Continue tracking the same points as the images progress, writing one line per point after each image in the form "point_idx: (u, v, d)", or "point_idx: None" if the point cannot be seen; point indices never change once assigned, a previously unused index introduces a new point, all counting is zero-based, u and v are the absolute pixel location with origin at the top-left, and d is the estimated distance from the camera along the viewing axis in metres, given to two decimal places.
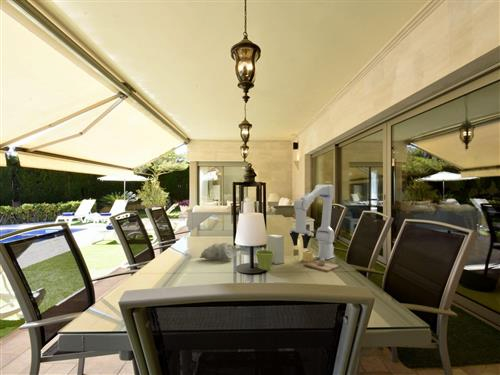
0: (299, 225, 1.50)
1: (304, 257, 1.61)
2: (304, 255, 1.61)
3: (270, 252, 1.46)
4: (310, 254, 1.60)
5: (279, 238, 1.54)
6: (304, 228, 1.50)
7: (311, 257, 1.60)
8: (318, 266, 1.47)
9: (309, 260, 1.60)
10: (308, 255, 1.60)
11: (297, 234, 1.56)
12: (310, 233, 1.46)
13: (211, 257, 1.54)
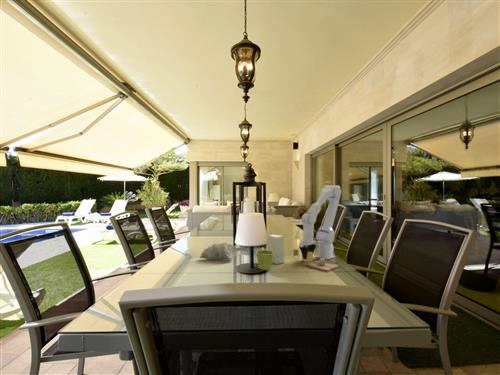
0: (303, 237, 1.63)
1: None
2: None
3: (270, 252, 1.46)
4: (310, 254, 1.60)
5: (279, 238, 1.54)
6: (305, 240, 1.60)
7: (311, 257, 1.60)
8: (318, 266, 1.47)
9: (309, 260, 1.60)
10: (308, 255, 1.60)
11: (312, 247, 1.64)
12: (300, 245, 1.57)
13: (211, 257, 1.54)
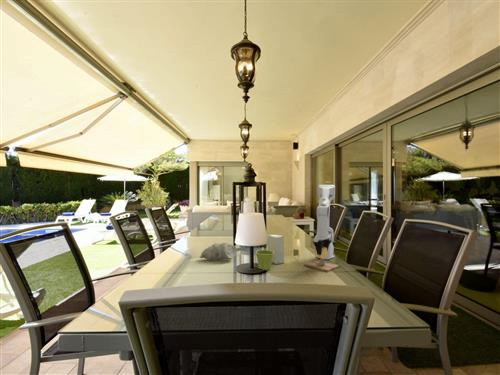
0: (317, 231, 1.51)
1: None
2: None
3: (270, 252, 1.46)
4: (324, 250, 1.48)
5: (279, 238, 1.54)
6: (320, 235, 1.48)
7: (325, 253, 1.49)
8: (318, 266, 1.47)
9: (323, 256, 1.48)
10: (322, 251, 1.48)
11: (327, 242, 1.52)
12: (315, 239, 1.45)
13: (211, 257, 1.54)
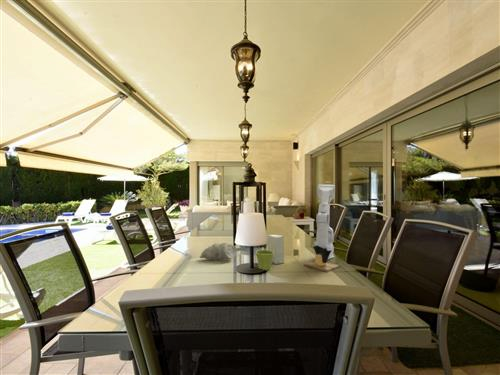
0: (320, 239, 1.48)
1: None
2: None
3: (270, 252, 1.46)
4: None
5: (279, 238, 1.54)
6: (325, 242, 1.48)
7: None
8: (318, 266, 1.47)
9: (326, 263, 1.50)
10: None
11: (321, 248, 1.54)
12: (329, 248, 1.44)
13: (211, 257, 1.54)
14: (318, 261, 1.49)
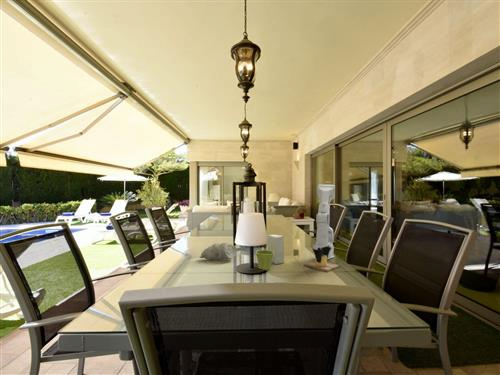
0: (316, 238, 1.51)
1: (323, 262, 1.48)
2: (323, 260, 1.48)
3: (270, 252, 1.46)
4: (326, 257, 1.50)
5: (279, 238, 1.54)
6: (319, 242, 1.48)
7: None
8: (318, 266, 1.47)
9: (326, 263, 1.50)
10: (326, 258, 1.49)
11: (327, 249, 1.52)
12: (315, 247, 1.45)
13: (211, 257, 1.54)
14: None
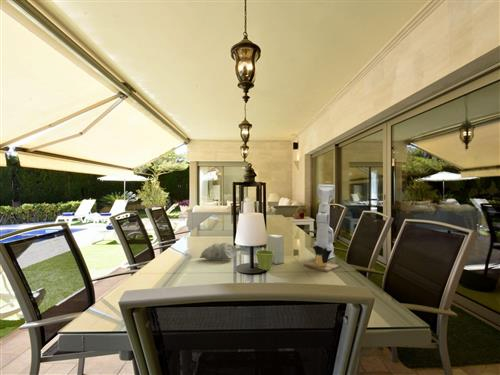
0: (320, 239, 1.48)
1: None
2: None
3: (270, 252, 1.46)
4: None
5: (279, 238, 1.54)
6: (325, 242, 1.48)
7: None
8: (318, 266, 1.47)
9: None
10: None
11: (321, 248, 1.54)
12: (329, 248, 1.44)
13: (211, 257, 1.54)
14: None
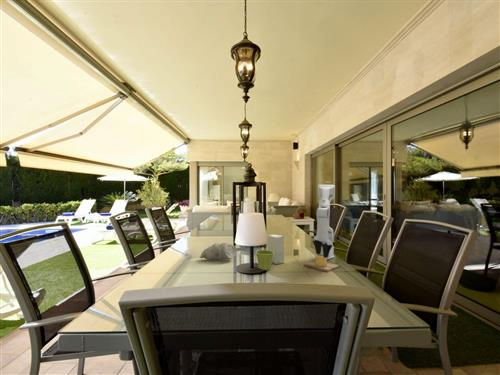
0: (320, 234, 1.48)
1: (326, 261, 1.49)
2: (326, 259, 1.49)
3: (270, 252, 1.46)
4: None
5: (279, 238, 1.54)
6: (325, 237, 1.48)
7: None
8: (318, 266, 1.47)
9: None
10: None
11: (320, 242, 1.54)
12: (329, 242, 1.44)
13: (211, 257, 1.54)
14: (324, 262, 1.48)
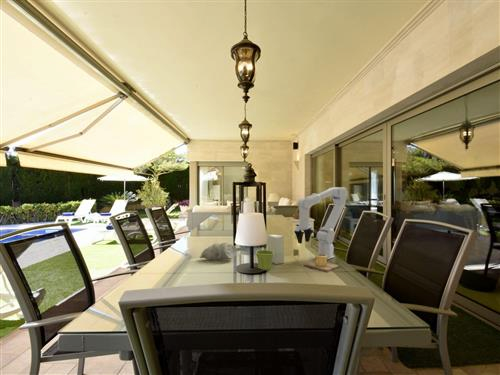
0: (299, 221, 1.65)
1: (326, 261, 1.49)
2: (326, 259, 1.49)
3: (270, 252, 1.46)
4: None
5: (279, 238, 1.54)
6: (301, 225, 1.62)
7: None
8: (318, 266, 1.47)
9: None
10: None
11: (309, 231, 1.66)
12: (296, 229, 1.59)
13: (211, 257, 1.54)
14: (324, 262, 1.48)
